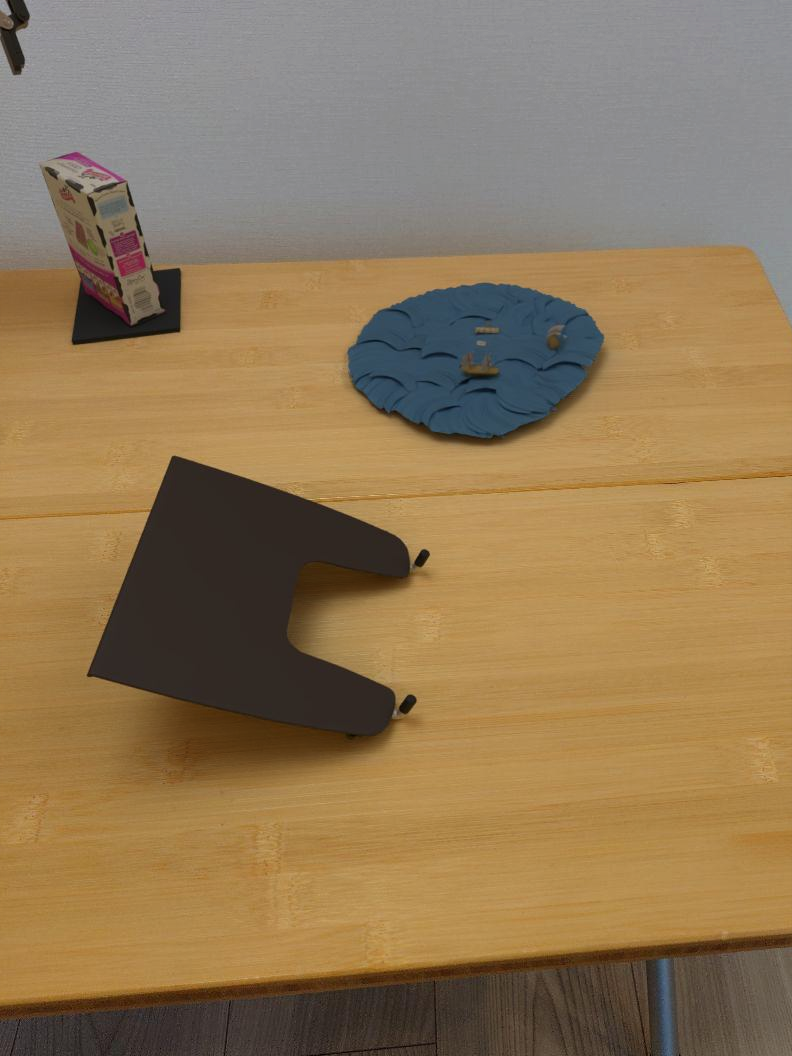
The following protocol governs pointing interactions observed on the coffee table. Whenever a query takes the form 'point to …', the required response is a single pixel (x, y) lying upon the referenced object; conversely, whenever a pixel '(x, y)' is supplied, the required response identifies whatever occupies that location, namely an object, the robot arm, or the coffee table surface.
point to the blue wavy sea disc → (474, 357)
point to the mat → (105, 325)
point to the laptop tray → (242, 603)
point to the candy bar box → (104, 236)
